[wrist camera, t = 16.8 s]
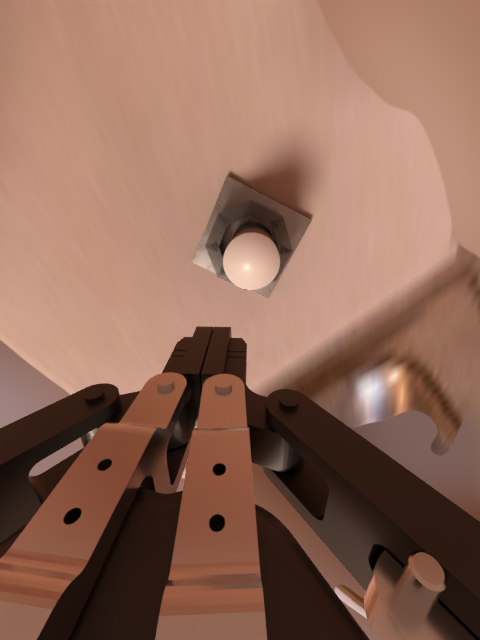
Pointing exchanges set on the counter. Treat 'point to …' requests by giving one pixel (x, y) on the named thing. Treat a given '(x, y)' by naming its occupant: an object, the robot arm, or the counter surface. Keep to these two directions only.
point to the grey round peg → (251, 257)
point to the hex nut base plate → (247, 207)
